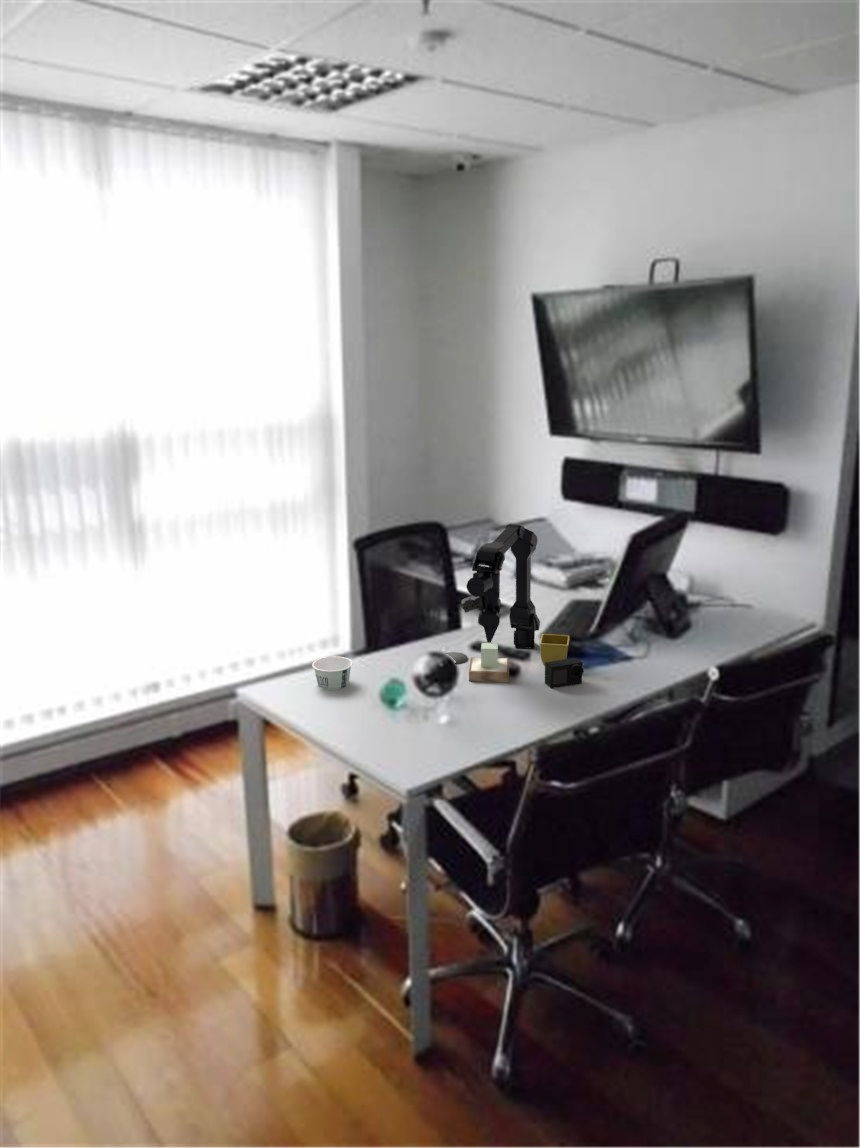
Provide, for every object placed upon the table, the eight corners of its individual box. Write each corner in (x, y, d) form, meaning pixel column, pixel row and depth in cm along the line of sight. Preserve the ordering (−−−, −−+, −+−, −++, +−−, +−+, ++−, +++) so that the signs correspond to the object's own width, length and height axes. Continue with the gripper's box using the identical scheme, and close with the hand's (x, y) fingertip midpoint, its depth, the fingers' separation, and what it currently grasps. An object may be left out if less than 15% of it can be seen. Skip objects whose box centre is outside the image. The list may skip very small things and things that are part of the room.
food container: (361, 680, 267) (360, 660, 265) (337, 694, 257) (336, 673, 255) (329, 673, 272) (328, 653, 271) (305, 686, 263) (303, 666, 261)
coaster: (468, 654, 287) (468, 652, 287) (466, 664, 278) (466, 662, 278) (440, 653, 288) (440, 651, 288) (438, 663, 279) (438, 661, 279)
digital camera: (552, 690, 258) (553, 668, 256) (544, 683, 263) (544, 661, 261) (584, 685, 261) (584, 663, 259) (575, 679, 266) (576, 657, 264)
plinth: (509, 667, 276) (509, 657, 275) (508, 682, 264) (509, 672, 263) (470, 666, 277) (470, 656, 276) (468, 681, 265) (468, 671, 264)
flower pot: (567, 672, 271) (568, 644, 269) (538, 670, 273) (539, 643, 270) (568, 662, 280) (569, 635, 277) (541, 660, 281) (541, 633, 279)
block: (497, 661, 272) (497, 643, 270) (497, 667, 267) (497, 649, 265) (481, 661, 272) (481, 642, 271) (480, 667, 267) (481, 648, 266)
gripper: (464, 578, 273) (464, 626, 277) (461, 596, 255) (461, 647, 259) (500, 579, 272) (500, 627, 276) (499, 597, 254) (499, 648, 258)
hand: (489, 637), depth 267 cm, fingers open, 9 cm apart
